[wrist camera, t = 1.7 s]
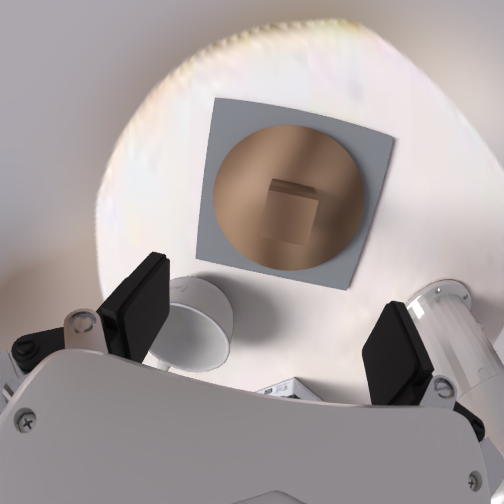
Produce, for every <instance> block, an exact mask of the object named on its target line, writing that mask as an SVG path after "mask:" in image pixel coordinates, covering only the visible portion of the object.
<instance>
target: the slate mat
mask: <svg viewBox="0 0 504 504" xmlns="http://www.w3.org/2000/svg"><path fill="white" fill-rule="evenodd" d="M278 125H298V126H305V127H308V128H311V129H315V130H317V131H319V132H322V133H324V134H326V135H327V136H329V137H330V138H332V139H334V140H335V141H336V142H337V143H338V144H340V145H341V146H342V147H343V148H344V149H345V150H346V151H347V153H348V154H349V155H350V156H351V158H352V159H353V161H354V162H355V164H356V166H357V168H358V170H359V173H360V175H361V178H362V182H363V187H364V197H365V202H364V211H363V216H362V220H361V222H360V225H359V228H358V230H357V232H356V233H355V235H354V237H353V238H352V240H351V241H350V243H349V244H348V245H347V246H346V247H345V248H344V249H343V250H342V251H341V252H340V253H339V254H337V255H336V256H335V257H333V258H332V259H330V260H329V261H327V262H325V263H323V264H321V265H319V266H316V267H313V268H309V269H304V270H296V271H283V270H276V269H271V268H268V267H264V266H262V265H259V264H257V263H255V262H253V261H251V260H249V259H248V258H246V257H245V256H243V255H242V254H241V253H240V252H238V251H237V250H236V249H235V248H234V247H233V246H232V245H231V243H230V242H229V241H228V240H227V238H226V237H225V235H224V234H223V232H222V230H221V228H220V226H219V224H218V221H217V218H216V215H215V211H214V204H213V188H214V183H215V178H216V175H217V172H218V169H219V167H220V165H221V163H222V162H223V160H224V158H225V157H226V156H227V154H228V153H229V152H230V150H231V149H232V148H233V147H234V146H235V145H236V144H237V143H239V142H240V141H241V140H242V139H244V138H245V137H247V136H249V135H250V134H252V133H254V132H256V131H259V130H261V129H264V128H268V127H271V126H278ZM393 138H394V137H392V136H389V135H386V134H383V133H380V132H377V131H374V130H371V129H368V128H365V127H362V126H358V125H355V124H351V123H348V122H344V121H341V120H337V119H333V118H330V117H326V116H322V115H317V114H313V113H309V112H304V111H300V110H295V109H290V108H285V107H279V106H274V105H268V104H262V103H255V102H248V101H240V100H232V99H223V98H215V101H214V107H213V113H212V120H211V126H210V133H209V140H208V147H207V154H206V162H205V170H204V178H203V186H202V195H201V204H200V214H199V224H198V235H197V247H196V259H199V260H204V261H208V262H213V263H217V264H222V265H226V266H231V267H235V268H240V269H245V270H249V271H254V272H258V273H263V274H268V275H273V276H277V277H282V278H287V279H292V280H296V281H301V282H306V283H311V284H316V285H321V286H326V287H331V288H336V289H341V290H347V288H348V285H349V283H350V280H351V278H352V275H353V272H354V270H355V267H356V264H357V262H358V259H359V256H360V253H361V250H362V247H363V245H364V242H365V239H366V236H367V233H368V230H369V227H370V224H371V220H372V217H373V214H374V211H375V207H376V204H377V201H378V197H379V194H380V190H381V187H382V183H383V179H384V176H385V172H386V168H387V164H388V160H389V156H390V152H391V147H392V143H393Z"/></svg>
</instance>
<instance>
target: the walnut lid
mask: <svg viewBox="0 0 504 504" xmlns="http://www.w3.org/2000/svg"><path fill="white" fill-rule="evenodd" d="M364 202H365V197H364V187H363V182H362V178H361V175H360V173H359V170H358V168H357V166H356V164H355V162H354V161H353V159H352V158H351V156H350V155H349V154H348V153H347V151H346V150H345V149H344V148H343V147H342V146H341V145H340V144H338V143H337V142H336V141H335V140H334V139H332V138H330V137H329V136H327V135H326V134H324V133H322V132H319V131H317V130H315V129H311V128H308V127H305V126H298V125H278V126H271V127H268V128H264V129H261V130H259V131H256V132H254V133H252V134H250V135H249V136H247V137H245V138H244V139H242V140H241V141H240V142H239V143H237V144H236V145H235V146H234V147H233V148H232V149H231V150H230V152H229V153H228V154H227V156H226V157H225V158H224V160H223V162H222V163H221V165H220V167H219V169H218V172H217V175H216V178H215V183H214V188H213V204H214V211H215V215H216V218H217V221H218V224H219V226H220V228H221V230H222V232H223V234H224V235H225V237H226V238H227V240H228V241H229V242H230V243H231V245H232V246H233V247H234V248H235V249H236V250H237V251H238V252H240V253H241V254H242V255H243V256H245V257H246V258H248V259H249V260H251V261H253V262H255V263H257V264H259V265H262V266H264V267H268V268H271V269H276V270H283V271H296V270H304V269H309V268H313V267H316V266H319V265H321V264H323V263H325V262H327V261H329V260H330V259H332V258H333V257H335V256H336V255H337V254H339V253H340V252H341V251H342V250H343V249H344V248H345V247H346V246H347V245H348V244H349V243H350V241H351V240H352V238H353V237H354V235H355V233H356V232H357V230H358V228H359V225H360V222H361V220H362V216H363V211H364Z"/></svg>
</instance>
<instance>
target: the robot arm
mask: <svg viewBox="0 0 504 504" xmlns="http://www.w3.org/2000/svg"><path fill="white" fill-rule="evenodd" d="M471 308H472V299H471V296H470V293H469V292H468V290H467V289H466V288H465V287H464V286H463V284H461V283H459V282H458V281H454V280H443V281H438V282H435V283H433V284H430V285H428V286H426V287H425V288H423V289H421V290H420V291H419V292H417V293H416V294H415V295H414V296H413V297H412V298H411V299H410V300H409V301H408V302H407V303H406V305H405V304H404V303H402V302H397V301H391V302H390V303H388V304H386V305H385V307H384V309H383V311H382V313H381V315H380V317H379V319H378V321H377V323H376V325H375V327H374V328H373V330H372V332H371V334H370V336H369V338H368V339H367V341H366V343H365V345H364V346H363V349H362V357H363V362H364V367H365V371H366V376H367V381H368V387H369V392H370V397H371V403H372V405H359V404H342V403H329V402H319V401H309V400H301V399H293V398H286V397H279V396H273V395H267V394H261V393H255V392H250V391H245V390H240V389H235V388H230V387H226V386H221V385H217V384H212V383H208V382H204V381H200V380H196V379H193V378H189V377H185V376H182V375H178V374H175V373H171V372H168V371H164V370H161V369H157V368H154V367H151V366H148V365H145V364H142V362H143V360H144V358H145V356H146V355H147V353H148V351H149V349H150V347H151V346H152V344H153V342H154V340H155V339H156V337H157V335H158V333H159V332H160V330H161V328H162V326H163V325H164V323H165V321H166V319H167V318H168V315H169V312H170V260H169V259H167V258H166V255H165V254H161V253H157V252H151V253H150V254H149V255H148V256H147V258H146V259H145V260H144V261H143V262H142V263H141V264H140V265H139V266H138V267H137V268H136V269H135V270H134V271H133V272H132V273H131V274H130V276H129V277H127V278H125V279H124V280H123V281H122V283H121V284H120V285H119V286H118V287H117V288H116V289H115V290H114V291H113V292H112V294H111V295H110V296H109V297H108V298H107V299H106V300H105V301H104V303H103V304H102V305H101V306H100V307H99V308H98V310H97V311H96V312H95V311H93V310H90V309H78V310H75V311H73V312H71V313H70V314H69V315H68V316H67V317H66V318H65V320H64V327H60V328H56V329H51V330H47V331H42V332H37V333H33V334H28V335H24V336H22V337H20V338H18V339H17V340H16V341H15V342H14V344H13V346H12V350H11V352H8V351H7V350H5V351H3V352H1V353H0V504H504V365H503V364H502V362H501V360H500V359H499V357H498V355H497V353H496V351H495V350H494V348H493V346H492V345H491V343H490V342H489V340H488V338H487V337H486V335H485V334H484V332H483V331H482V330H483V324H482V323H478V322H477V321H476V320H475V318H474V317H473V316H472V314H471Z"/></svg>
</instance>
